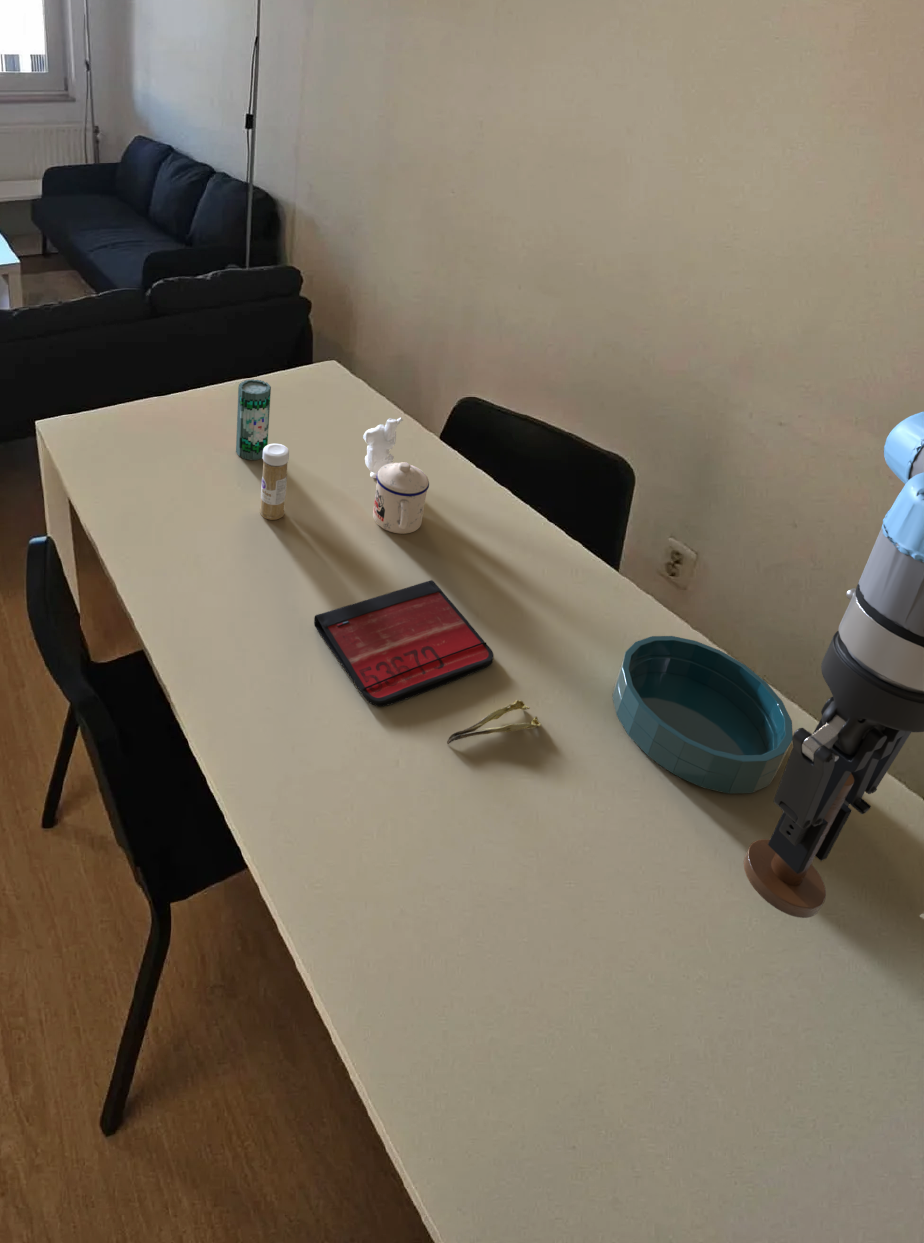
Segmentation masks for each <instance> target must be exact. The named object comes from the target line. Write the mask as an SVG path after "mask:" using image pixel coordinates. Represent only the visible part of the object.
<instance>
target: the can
mask: <svg viewBox="0 0 924 1243" xmlns="http://www.w3.org/2000/svg"><path fill="white" fill-rule="evenodd" d="M271 393H272V386H271V385H270V384H269V383H268V382H267V381H264V380H261V379H254V378H253V379H246V380H243V381H241V382H240V383H239V384H238V389H237V411H236V413H237V414H236V438H235V439H236V440H235V441H236V442H235V453H236V454H237V455H238V457H239V458H241V459H244V460H247V461H258V460H263V449H264V447H265V446H267V445H269V430H270V429H269V428H270V410H271V409H270V408H271V395H272V394H271Z"/></svg>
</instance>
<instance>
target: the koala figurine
mask: <svg viewBox="0 0 924 1243" xmlns="http://www.w3.org/2000/svg"><path fill="white" fill-rule="evenodd" d="M403 421H404V419H403V418H402V417H399V418H397V419H396V418H391V417H389V418H387V420H386V422H385V425H384V424H381V423H380V424H378V425H377V426H376V427H372V428H369V429H367V430H365V432H364V434H363V435H362V439H363V440H364V441H365V443H366V445H367V446H366V455H365V457H364V462H365V466H366V468H367V469H368V470H369V472H370V474H369V476H370V478H372V479H377V478H376V476H377V473H378V471H379V469H380V468H381V467H383V466H384V465H387V464H390V463H394V459H395V458H394V457H395V456H394V454H392V453H390V452H391V451H390V450H393V448H394V447H395V445H396V443H397V442H396V440H397V427H399V425H400V424H401V423H402V422H403Z"/></svg>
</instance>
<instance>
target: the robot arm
mask: <svg viewBox="0 0 924 1243" xmlns="http://www.w3.org/2000/svg"><path fill="white" fill-rule="evenodd" d="M883 456H884V459H885V463H886V465H887V467H888V468H889V469H890V471H892V473H893V474H894V475H895V476H896V477H897V478H898V480H900V481H901V482H902V483H903V484H904V486H903V487H902V489H901V490H900V492H899V493H898V495H897V496H896V498H895V500H894V502H893V504H892V506H891V508H890V509H888V511H887V512H886V513H885V516H884V518H883V519H882V525H881V527H880V530H879V533H878V535H877V537H876V540H875V542H874V544H873V547H872V549H871V552H870V554H869V556H868V559H867V562H866V564H865V566H864V568H863V571H862V573H861V576H860V578H859V580H858V582H857V585H856V588H855V587H854V588H850V589H849V590H847V591H846V594H845V597H846V598H847V599H849V600H850V601H849V603H848V605H847V608H846V609H845V611H844V614H843V616H842V619H841V620H840V623H839V625H838V630H837V631H836V632H835V633H834V634H833V636H832V638H831V640H830V643H829V645H828V647H827V650H826V652H825V653H824V656H823V658H822V661H821V665H820V670H821V675H822V678H823V679H824V681H825V684H826V685H827V687H828V689H829V690H830V693H831V695H832V696H831V697H830V698H828V699H827V700H826V702H825V704H824V705H823V706H822V709H821V711H820V713H821V718H820V720H819V722H818V724H817V725H816V727H815V729H814V731H813V732H811V731H808V730H807V729H806V728H804V727H799V728H797V729H796V730H795V731H793V740H792V749H791V752H790V755H789V757H788V760H787V763H786V765H785V768H784V771H783V773H782V777H781V780H780V782H779V785H778V787H777V790H776V794H775V795H774V798H773V803H774V804H775V805H776V806H777V807H778V808H779V809H780V810H782V811H783V812H782V813H781V815H780V818H779V820H778V822H777V823H776V826H775V828H774V830H773V832H772V835H771V837H770V839H769V840H770V841H769V843H768V845H769V846H770V847H771V848H772V849H773V850H774V851H775V852H776V853H777V854H778V855H779V856H780V857H781V858H782V859H783V860H784V861H785V862H786V863H787V864H788V865H789V866H790V867H791V868H792V869H793V870H794V871H795V872H796V873H797V874H798V873H800V872H802V871H803V870H804V868H805V866H806V864H807V862H808V861H809V859H810V857H811V855H812V853H813V851H814V849H815V847H816V845H817V843H818V841H819V839H820V837H821V836H822V834H823V832H824V830H825V828H826V826H827V824H828V822H827V821H826V820H825V819H824V817H825V816H826V814H827V812H828V811H829V809H830V807H831V806H832V804H833V802H834V801H835V799H836V797H837V796H838V794H839V792H840V791H841V789H842V787H843V786H844V784H845V782H846V781H847V779H848V777H849V775H850V774H852V775H853V777H854V783H853V785H852V787H851V789H850V791H849V793H848V795H847V797H846V799H845V801H844V803H843V805H842V806H841V808H840V810H839V812H838V814H837V816H836V818H835V820H834V822H833V824H832V826H831V827H830V829H829V831H828V833H827V835H826V837H825V839H824V841H823V843H822V845H821V847H820V849H819V850H818V852H817V854H816V856H815V858H817V859H818V860H819V861H820V862H822V861H824V860H826V859H827V858H828V856H829V855H830V852H831V851H832V849H833V847H834V845H835V843H836V841H837V840H838V837H839V835H840V834H841V832H842V830H843V829H844V827H845V824H846V822H847V820H848V819H849V817H850V815H851V813H852V812H853V810H852V808H854V809H855V810H856V811H857V812H858V813H859V814H861V815H865V814H866V813H868V812H869V810H870V809H871V807H872V806H871V805H870V804H869V803H868V802H867V801H866V800H864V799H863V797H864V794H865V793H866V794H867V795H871V794H874V793H876V791H877V790H878V787H879V786H880V785H881V784H880V783H881V782H882V781H883V779H884V777H885V775H886V774H887V772H888V771H889V769H890V767H891V766H892V764H893V762H894V761H895V760H896V758H897V756H898V754H899V753H900V751H901V750H902V748H903V746H904V744H906V741H907V740H908V739H909V737H910V735H911V734H912V733H924V411H921V412H918V413H915V414H912V415H910V416H908V417H906V418H904V419H903V420H902V421H899V423H898V424H896V426H894V427H893V428H892V430H891V431H890V432H889V434H888V436H887V437H886V440H885V443H884V446H883ZM849 806H851V807H852V808H850V807H849Z"/></svg>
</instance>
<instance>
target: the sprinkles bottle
mask: <svg viewBox="0 0 924 1243" xmlns="http://www.w3.org/2000/svg"><path fill="white" fill-rule="evenodd" d="M289 460H290V449H289V448H288V447H287V446H286V445H284V444H281V443H270V444H269V443H268V445H267V446H265V447H264V449H263V457H262V461H263V462H262V464H263V465H262V477H261V488H260V507H259V514H260V516H261V517H263V518H264V519H266V520H269V521H270V520H271V521H277V520H279V519H281V518H283V517H284V515H285V502H286V494H287V481H288V480H287V479H288V463H289Z"/></svg>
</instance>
